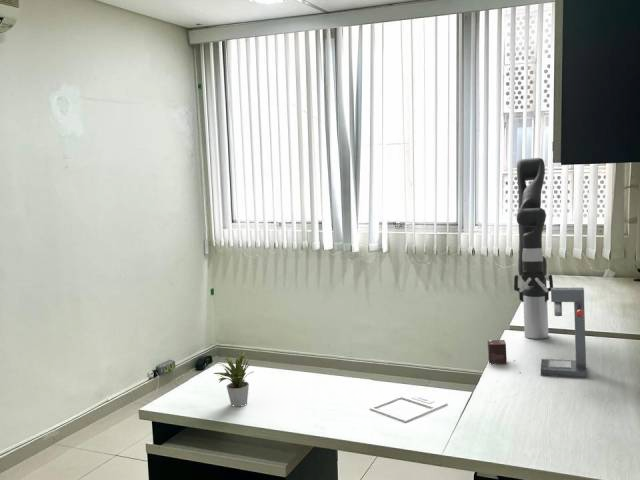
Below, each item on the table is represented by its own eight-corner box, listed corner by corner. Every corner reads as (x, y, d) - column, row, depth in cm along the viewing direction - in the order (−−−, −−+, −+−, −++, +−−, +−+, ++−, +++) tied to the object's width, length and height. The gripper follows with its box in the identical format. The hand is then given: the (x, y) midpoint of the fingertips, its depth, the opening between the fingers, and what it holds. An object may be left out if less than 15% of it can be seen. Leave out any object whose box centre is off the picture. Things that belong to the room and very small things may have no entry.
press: (541, 364, 211) (538, 285, 208) (585, 366, 205) (583, 285, 203) (540, 380, 195) (537, 295, 192) (587, 383, 190) (585, 295, 187)
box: (507, 364, 214) (506, 344, 213) (489, 364, 215) (488, 344, 214) (505, 359, 220) (504, 339, 219) (488, 359, 221) (487, 339, 220)
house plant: (225, 394, 202) (221, 347, 200) (265, 394, 199) (261, 346, 198) (210, 411, 188) (206, 359, 186) (253, 410, 185) (249, 359, 184)
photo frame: (447, 402, 179) (405, 420, 168) (447, 406, 180) (405, 424, 169) (411, 391, 191) (369, 407, 180) (411, 394, 191) (370, 410, 180)
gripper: (552, 258, 233) (553, 300, 234) (514, 259, 239) (515, 300, 239) (552, 260, 226) (553, 303, 227) (512, 261, 232) (514, 302, 232)
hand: (534, 301), depth 233 cm, fingers open, 8 cm apart
